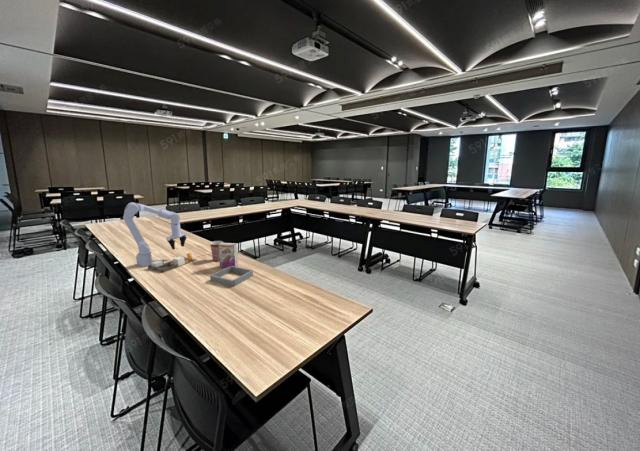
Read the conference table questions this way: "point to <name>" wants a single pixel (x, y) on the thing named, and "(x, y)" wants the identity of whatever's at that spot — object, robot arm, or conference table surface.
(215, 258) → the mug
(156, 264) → the grey block
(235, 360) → the conference table surface
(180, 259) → the orange mallet
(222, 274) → the desk tray rim
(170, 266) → the lane rack
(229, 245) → the candy bar box
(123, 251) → the conference table surface
